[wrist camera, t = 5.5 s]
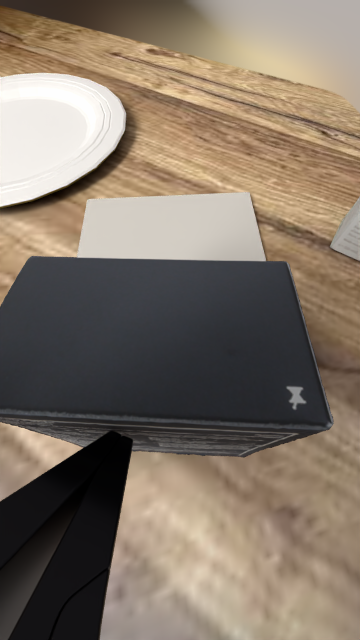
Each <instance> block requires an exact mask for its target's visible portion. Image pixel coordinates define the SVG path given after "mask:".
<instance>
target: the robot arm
mask: <svg viewBox="0 0 360 640" xmlns="http://www.w3.org/2000/svg"><path fill="white" fill-rule="evenodd" d="M132 446H133V439H132V438H129V437H127V436H122V435H121V434H120V433H117V432H115V431H109V432H108V433H106V434H104V435H103V436H101V437H100V438H98V439H97V440H95V441H94V442H92V443H90V444H89V445H87V446H86V447H84V448H83V449H81V450H80V451H78V452H76V453H75V454H73V455H72V456H70V457H69V458H67V459H66V460H64V461H62V462H61V463H59V464H58V465H56V466H55V467H53V468H52V469H50V470H48V471H47V472H45V473H44V474H42V475H41V476H39V477H38V478H36V479H34V480H33V481H31V482H30V483H28V484H27V485H25V486H24V487H22V488H20V489H19V490H17V491H16V492H14V493H13V494H11V495H10V496H8V497H6V498H5V499H3V500H2V501H0V640H100V632H101V624H102V618H103V611H104V605H105V598H106V592H107V586H108V581H109V575H110V568H111V563H112V558H113V552H114V547H115V541H116V535H117V530H118V524H119V519H120V513H121V508H122V502H123V496H124V491H125V485H126V480H127V474H128V469H129V463H130V457H131V452H132Z"/></svg>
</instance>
